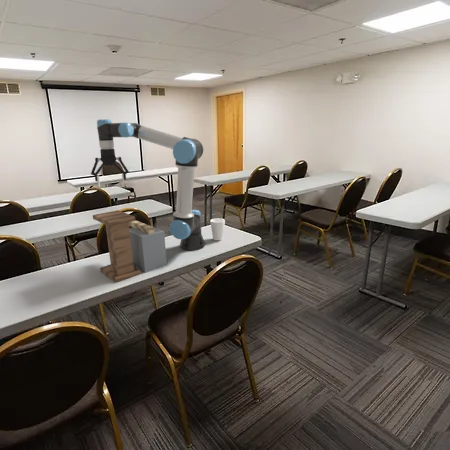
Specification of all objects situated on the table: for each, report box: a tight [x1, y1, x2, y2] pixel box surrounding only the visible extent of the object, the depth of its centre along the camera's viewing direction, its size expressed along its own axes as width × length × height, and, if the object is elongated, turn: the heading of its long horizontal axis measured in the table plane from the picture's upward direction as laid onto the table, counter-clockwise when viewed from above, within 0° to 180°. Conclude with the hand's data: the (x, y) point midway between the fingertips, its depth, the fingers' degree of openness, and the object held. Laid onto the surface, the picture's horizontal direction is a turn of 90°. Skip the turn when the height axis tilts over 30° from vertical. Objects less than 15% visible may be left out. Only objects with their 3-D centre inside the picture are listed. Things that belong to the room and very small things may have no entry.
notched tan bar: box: [129, 219, 155, 234], centre depth 169 cm, size 24×3×3 cm, turn 44°
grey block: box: [129, 227, 168, 273], centre depth 169 cm, size 18×13×19 cm
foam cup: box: [209, 217, 226, 241], centre depth 206 cm, size 10×9×13 cm
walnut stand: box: [92, 209, 142, 283], centre depth 157 cm, size 18×13×30 cm
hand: (111, 186), depth 183 cm, fingers open, 13 cm apart
